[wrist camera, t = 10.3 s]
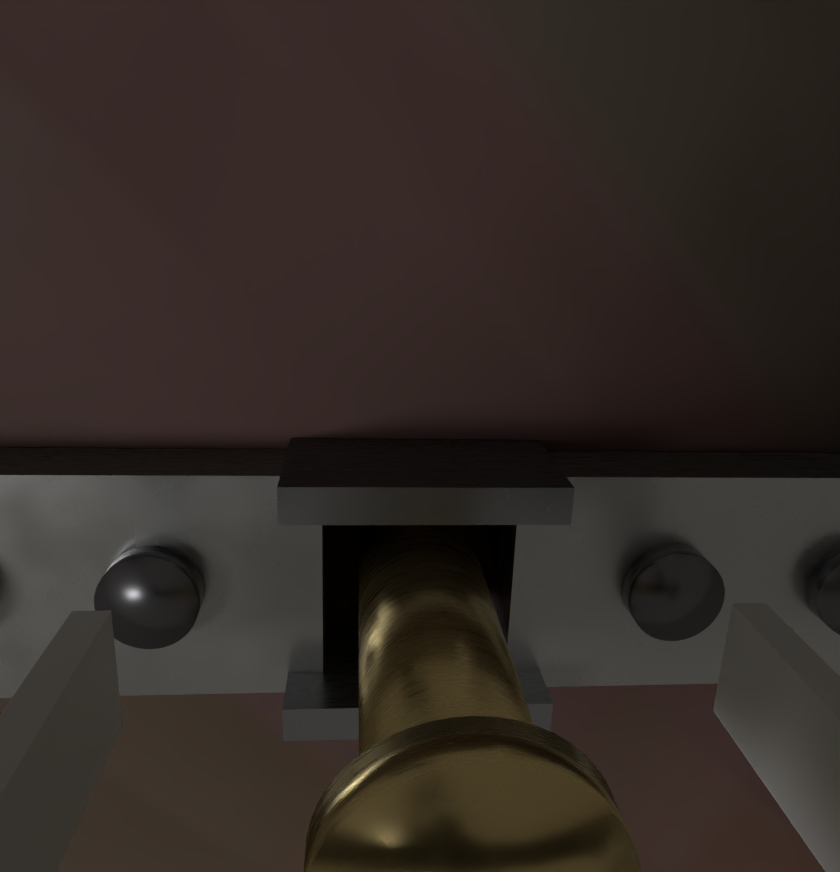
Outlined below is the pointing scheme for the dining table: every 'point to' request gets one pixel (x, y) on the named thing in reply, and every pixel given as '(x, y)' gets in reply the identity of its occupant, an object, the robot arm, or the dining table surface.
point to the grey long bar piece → (410, 505)
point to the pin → (453, 735)
